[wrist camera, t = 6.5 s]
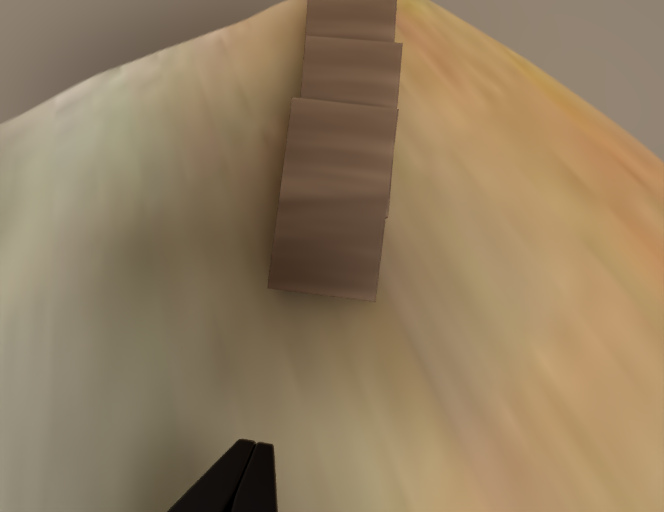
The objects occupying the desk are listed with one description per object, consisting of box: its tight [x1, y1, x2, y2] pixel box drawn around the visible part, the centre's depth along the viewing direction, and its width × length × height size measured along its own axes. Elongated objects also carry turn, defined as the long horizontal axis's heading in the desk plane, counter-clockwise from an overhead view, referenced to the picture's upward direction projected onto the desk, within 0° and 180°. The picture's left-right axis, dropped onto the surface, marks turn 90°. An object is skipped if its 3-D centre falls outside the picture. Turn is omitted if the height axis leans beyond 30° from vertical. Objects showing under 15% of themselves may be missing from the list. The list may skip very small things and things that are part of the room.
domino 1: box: [268, 97, 399, 302], centre depth 17 cm, size 2×5×9 cm
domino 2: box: [300, 36, 403, 219], centre depth 19 cm, size 2×5×9 cm
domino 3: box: [305, 0, 397, 42], centre depth 20 cm, size 2×5×9 cm
